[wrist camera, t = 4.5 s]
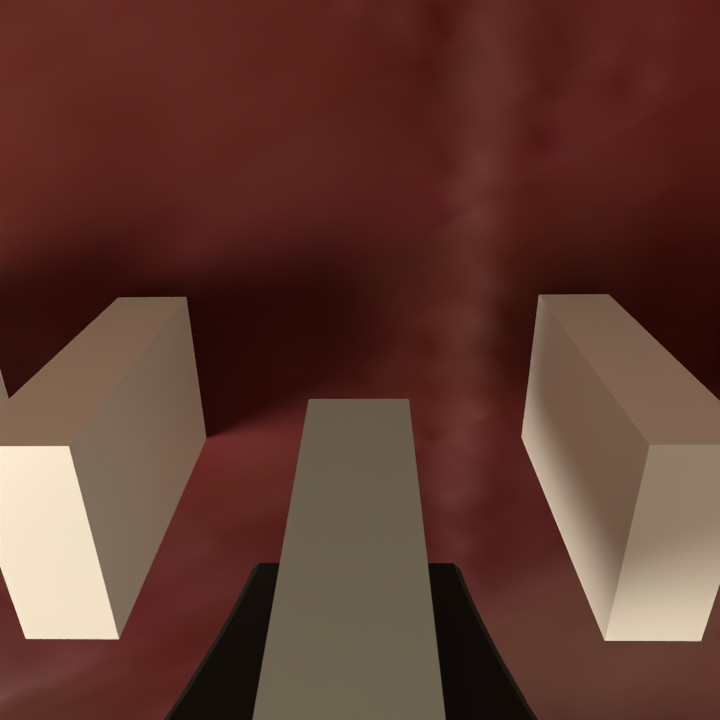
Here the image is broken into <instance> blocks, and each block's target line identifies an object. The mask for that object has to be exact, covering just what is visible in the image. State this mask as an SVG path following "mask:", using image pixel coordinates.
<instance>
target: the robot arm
mask: <svg viewBox="0 0 720 720" xmlns="http://www.w3.org/2000/svg"><path fill="white" fill-rule="evenodd" d="M279 565H280V563H259V564H258V565H257V566H256V567H255V568H253V570H252V572H251V574H250V576H249V578H248V580H247V583H246V585H245V587H244V588H243V590H242V592H241V594H240V596H239V598H238V600H237V602H236V604H235V606H234V608H233V609H232V611H231V613H230V615H229V617H228V618H227V620H226V622H225V624H224V625H223V627H222V629H221V631H220V632H219V634H218V636H217V638H216V639H215V641H214V643H213V644H212V646H211V648H210V649H209V651H208V652H207V654H206V656H205V657H204V659H203V660H202V662H201V664H200V665H199V667H198V668H197V670H196V672H195V673H194V675H193V676H192V678H191V680H190V681H189V683H188V685H187V686H186V688H185V689H184V691H183V692H182V694H181V695H180V697H179V698H178V700H177V701H176V703H175V704H174V706H173V707H172V709H171V710H170V712H169V713H168V715H167V716H166V717H165V719H164V720H252V719H253V714H254V708H255V702H256V697H257V691H258V685H259V679H260V674H261V668H262V662H263V657H264V651H265V645H266V640H267V634H268V628H269V622H270V617H271V611H272V605H273V600H274V594H275V588H276V582H277V577H278V571H279ZM428 571H429V579H430V588H431V597H432V605H433V614H434V623H435V631H436V640H437V649H438V657H439V666H440V675H441V683H442V692H443V701H444V709H445V718H446V720H537V718H536V716H535V715H534V713H533V711H532V710H531V708H530V707H529V705H528V703H527V701H526V700H525V698H524V696H523V694H522V693H521V691H520V689H519V688H518V686H517V684H516V682H515V681H514V679H513V677H512V675H511V674H510V672H509V670H508V668H507V667H506V665H505V663H504V661H503V660H502V658H501V656H500V654H499V652H498V650H497V648H496V647H495V645H494V643H493V641H492V639H491V637H490V635H489V633H488V631H487V629H486V627H485V625H484V623H483V621H482V619H481V617H480V615H479V613H478V611H477V609H476V606H475V604H474V602H473V600H472V598H471V595H470V593H469V591H468V588H467V586H466V584H465V581H464V579H463V576H462V573H461V571H460V569H459V568H458V567H457V566H456V565H455V564H453V563H428Z"/></svg>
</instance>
